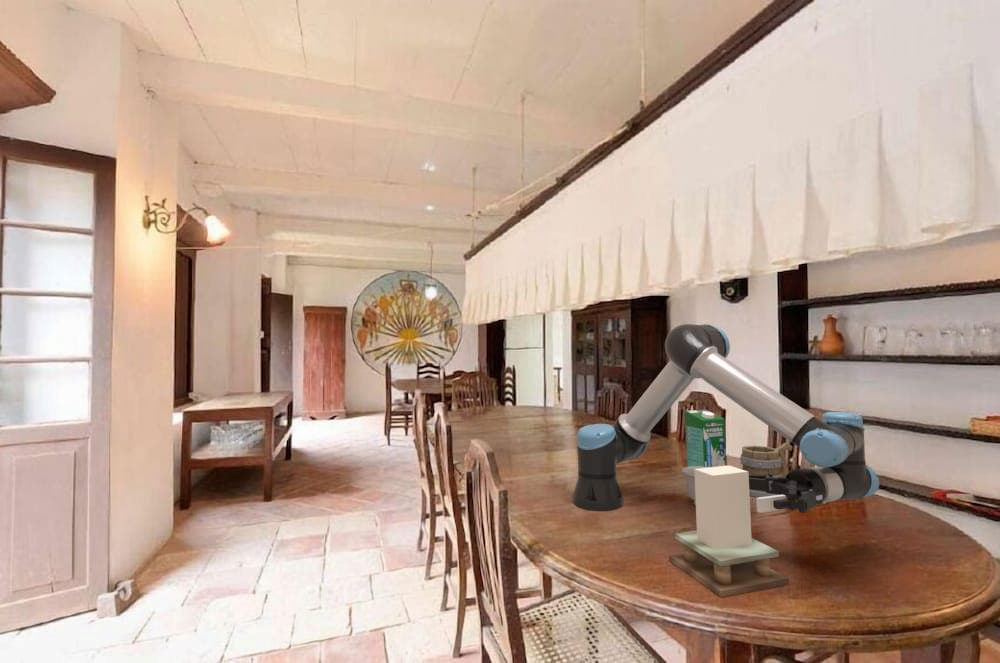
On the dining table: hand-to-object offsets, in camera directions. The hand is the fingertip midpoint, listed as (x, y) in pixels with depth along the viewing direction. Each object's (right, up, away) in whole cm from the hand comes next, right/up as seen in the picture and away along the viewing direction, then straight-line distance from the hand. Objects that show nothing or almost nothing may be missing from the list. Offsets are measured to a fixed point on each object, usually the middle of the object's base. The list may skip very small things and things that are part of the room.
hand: (732, 495), depth 97 cm
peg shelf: (-2, -16, -1) cm, 16 cm away
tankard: (+39, -18, +52) cm, 67 cm away
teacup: (+13, -18, +40) cm, 45 cm away
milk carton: (+23, -18, +62) cm, 68 cm away
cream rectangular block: (-2, -10, 0) cm, 10 cm away
